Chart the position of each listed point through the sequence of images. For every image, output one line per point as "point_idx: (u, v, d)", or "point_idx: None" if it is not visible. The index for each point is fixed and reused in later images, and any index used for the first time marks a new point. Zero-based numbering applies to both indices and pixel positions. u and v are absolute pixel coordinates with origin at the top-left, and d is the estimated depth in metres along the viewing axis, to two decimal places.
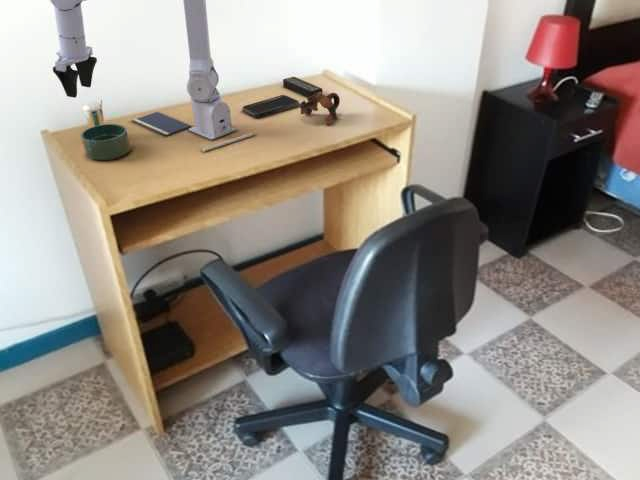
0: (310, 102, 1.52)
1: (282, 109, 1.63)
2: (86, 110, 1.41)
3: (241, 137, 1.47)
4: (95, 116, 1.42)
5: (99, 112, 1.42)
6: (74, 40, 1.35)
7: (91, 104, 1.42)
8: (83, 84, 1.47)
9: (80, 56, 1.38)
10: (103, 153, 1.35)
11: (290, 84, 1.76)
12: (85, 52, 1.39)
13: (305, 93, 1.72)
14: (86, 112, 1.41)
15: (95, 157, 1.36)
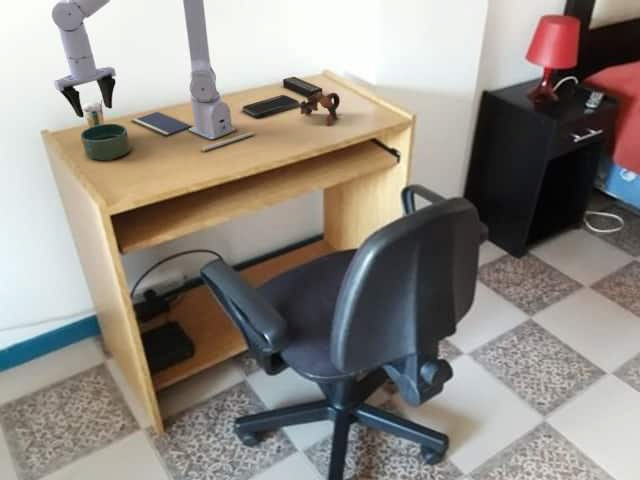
0: (310, 102, 1.52)
1: (282, 109, 1.63)
2: (86, 110, 1.41)
3: (241, 136, 1.47)
4: (95, 116, 1.42)
5: (99, 112, 1.42)
6: (74, 60, 1.33)
7: (91, 104, 1.42)
8: (105, 105, 1.45)
9: (83, 77, 1.35)
10: (103, 153, 1.35)
11: (290, 84, 1.76)
12: (90, 73, 1.36)
13: (305, 93, 1.72)
14: (86, 112, 1.41)
15: (95, 157, 1.36)
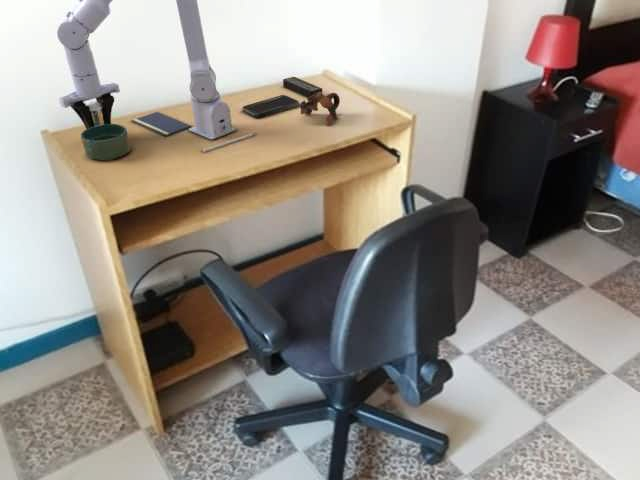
0: (310, 102, 1.52)
1: (282, 109, 1.63)
2: None
3: (241, 138, 1.47)
4: (95, 116, 1.42)
5: (99, 112, 1.43)
6: (79, 78, 1.36)
7: (92, 104, 1.42)
8: None
9: (87, 93, 1.38)
10: (103, 153, 1.35)
11: (290, 84, 1.76)
12: (94, 90, 1.38)
13: (305, 93, 1.72)
14: None
15: (95, 157, 1.36)
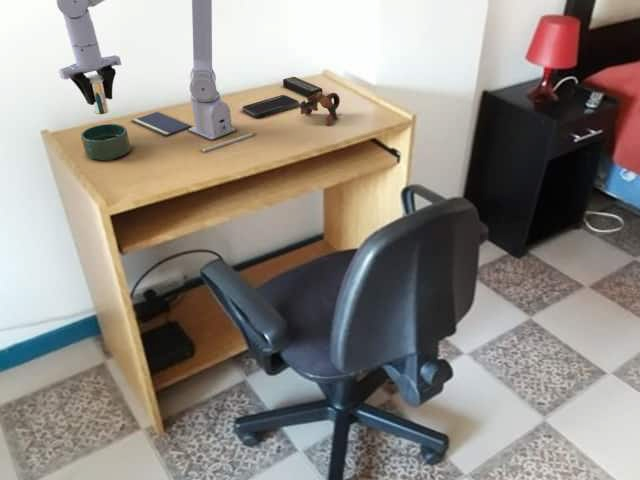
0: (310, 102, 1.52)
1: (282, 109, 1.63)
2: None
3: (240, 137, 1.47)
4: (96, 89, 1.38)
5: (100, 85, 1.39)
6: (79, 48, 1.32)
7: (92, 76, 1.38)
8: (106, 96, 1.43)
9: (88, 65, 1.34)
10: (103, 153, 1.35)
11: (290, 84, 1.76)
12: (95, 61, 1.34)
13: (305, 93, 1.72)
14: None
15: (95, 157, 1.36)
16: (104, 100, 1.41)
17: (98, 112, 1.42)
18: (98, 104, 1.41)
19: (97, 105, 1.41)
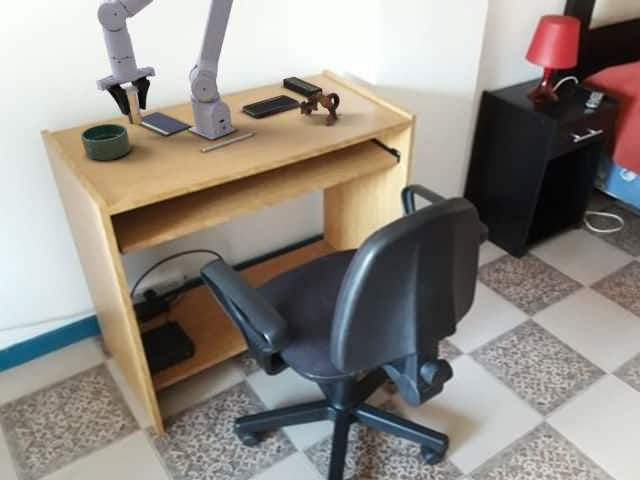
0: (310, 102, 1.52)
1: (282, 109, 1.63)
2: None
3: (240, 137, 1.47)
4: (131, 100, 1.40)
5: (135, 96, 1.41)
6: (117, 60, 1.34)
7: (128, 87, 1.40)
8: None
9: (125, 76, 1.36)
10: (103, 153, 1.35)
11: (290, 84, 1.76)
12: (131, 73, 1.36)
13: (305, 93, 1.72)
14: None
15: (95, 157, 1.36)
16: (138, 110, 1.43)
17: (132, 122, 1.44)
18: (132, 115, 1.43)
19: (131, 115, 1.43)
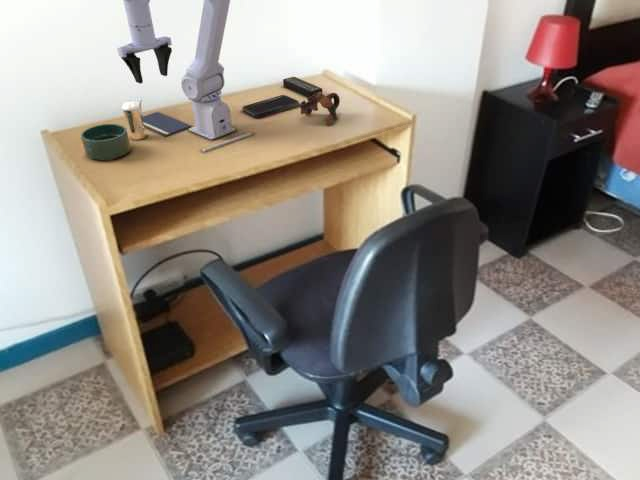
0: (310, 102, 1.52)
1: (282, 109, 1.63)
2: (126, 109, 1.41)
3: (239, 137, 1.48)
4: (134, 116, 1.43)
5: (138, 111, 1.43)
6: (137, 28, 1.43)
7: (131, 103, 1.42)
8: (161, 73, 1.55)
9: (144, 44, 1.45)
10: (103, 153, 1.35)
11: (290, 84, 1.76)
12: (150, 41, 1.46)
13: (305, 93, 1.72)
14: (126, 111, 1.42)
15: (95, 157, 1.36)
16: (141, 126, 1.46)
17: (135, 137, 1.46)
18: (136, 130, 1.45)
19: (135, 131, 1.45)
